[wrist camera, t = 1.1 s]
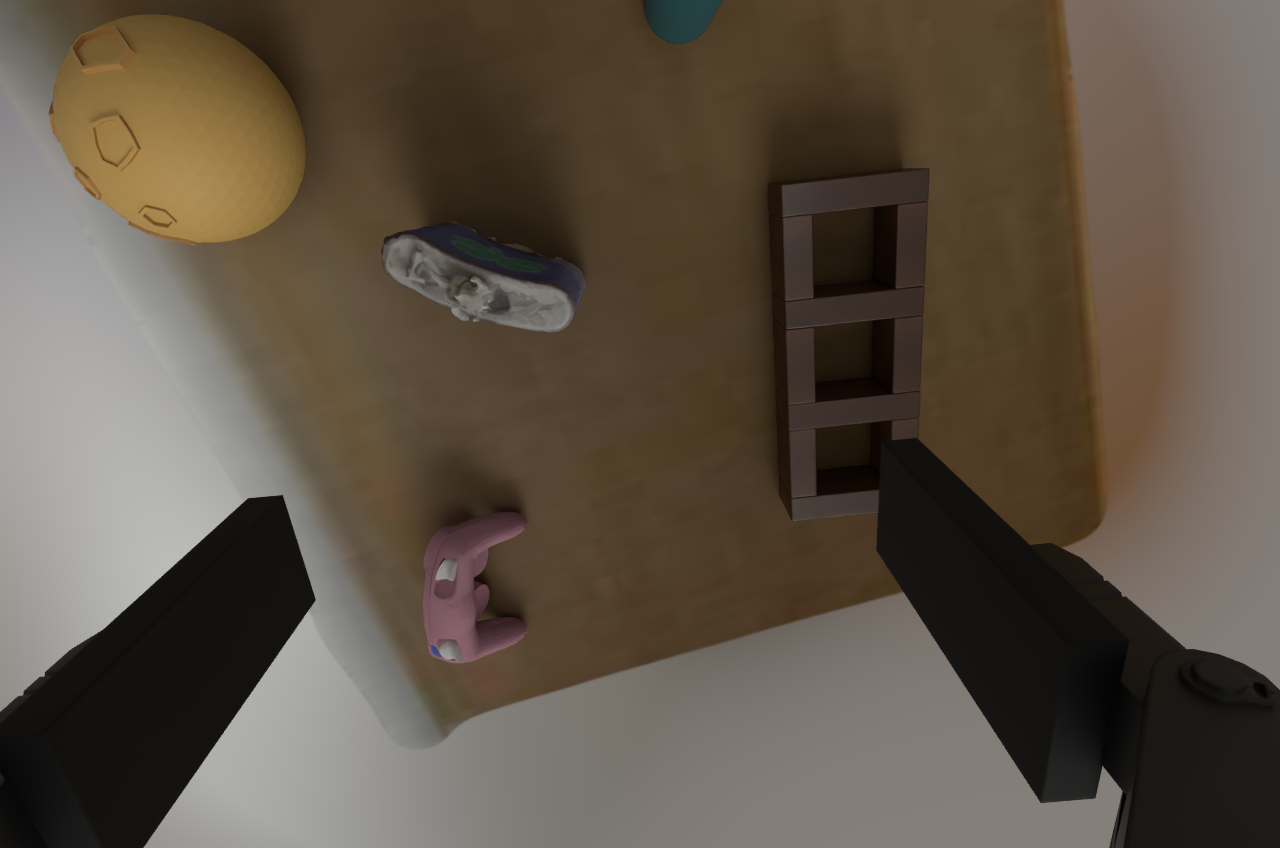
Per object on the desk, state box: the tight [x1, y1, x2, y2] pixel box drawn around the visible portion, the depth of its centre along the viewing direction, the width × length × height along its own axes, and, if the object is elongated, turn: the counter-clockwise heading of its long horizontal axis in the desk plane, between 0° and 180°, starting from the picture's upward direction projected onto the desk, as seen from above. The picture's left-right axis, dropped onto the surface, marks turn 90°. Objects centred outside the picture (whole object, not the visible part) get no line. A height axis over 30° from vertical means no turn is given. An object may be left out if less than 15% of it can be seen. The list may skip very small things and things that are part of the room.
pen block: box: [768, 168, 929, 521], centre depth 40 cm, size 20×8×4 cm, turn 6°
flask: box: [382, 221, 586, 333], centre depth 34 cm, size 9×3×11 cm, turn 70°
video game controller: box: [423, 512, 527, 663], centre depth 44 cm, size 10×5×7 cm, turn 177°
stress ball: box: [49, 14, 306, 246], centre depth 32 cm, size 10×10×10 cm
